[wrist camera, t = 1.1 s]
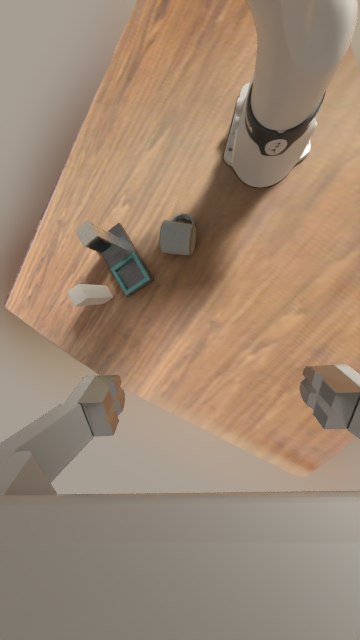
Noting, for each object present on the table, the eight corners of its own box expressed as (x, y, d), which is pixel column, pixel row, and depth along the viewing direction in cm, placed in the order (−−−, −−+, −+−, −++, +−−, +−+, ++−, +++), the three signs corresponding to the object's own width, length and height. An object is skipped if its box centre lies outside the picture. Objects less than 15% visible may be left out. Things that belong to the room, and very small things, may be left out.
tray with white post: (97, 243, 55) (60, 227, 42) (121, 224, 53) (90, 202, 40) (129, 296, 56) (102, 297, 42) (154, 279, 54) (134, 275, 40)
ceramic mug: (194, 258, 51) (190, 251, 43) (165, 255, 52) (156, 248, 45) (200, 216, 49) (197, 202, 42) (169, 215, 51) (161, 200, 43)
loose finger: (96, 291, 57) (65, 291, 46) (106, 284, 57) (77, 282, 45) (103, 304, 58) (75, 306, 46) (113, 297, 57) (87, 298, 45)
